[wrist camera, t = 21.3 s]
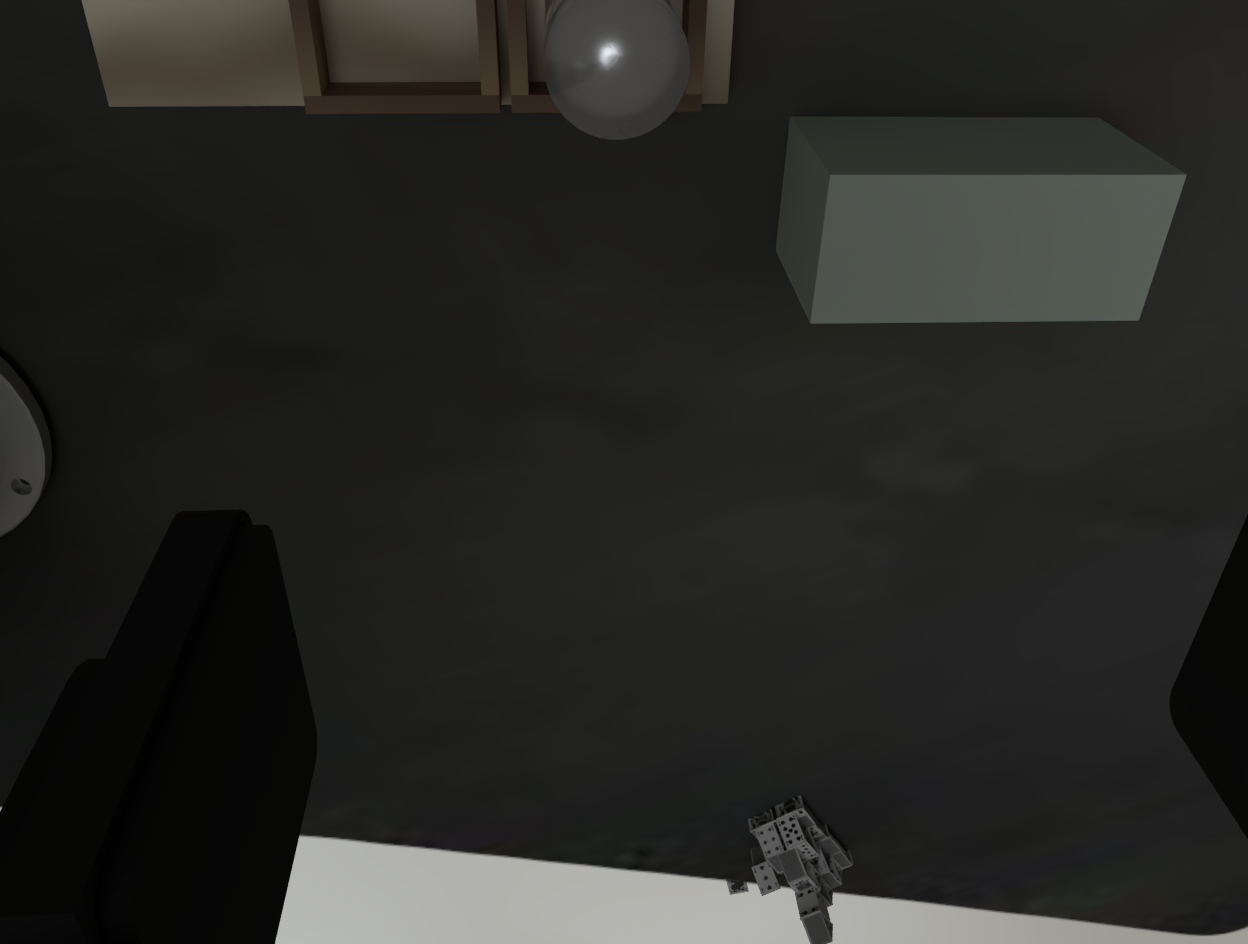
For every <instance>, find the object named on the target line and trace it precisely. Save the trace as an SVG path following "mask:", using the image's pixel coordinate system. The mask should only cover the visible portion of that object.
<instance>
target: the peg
mask: <svg viewBox="0 0 1248 944" xmlns="http://www.w3.org/2000/svg"><path fill="white" fill-rule="evenodd" d="M689 71H690V54H689V47H688V43H687V39H686V36H685V34H684V31H683V29H682V27H681V25H680V23H679V20H678V18H677V16H676V14H675V12H674V10H673V8H672V6H671V4H670V2H669V0H545V26H544V73H545V80H546V84H547V88H548V90H549V93H550V96H551V98H552V100H553V102H554V104H555V105H556V107H557V108H558V110H559V111H560V113H561V114H562V115H563V116H564V117H565V118H566V119H567V120H568V121H569V122H570V123H571V124H573V125H574V126H575V127H577V128H578V129H580V130H581V131H583V132H585V133H587V134H589V135H592V136H595V137H598V138H603V139H611V140H621V139H629V138H634V137H637V136H640V135H643V134H645V133H647V132H649V131H651V130H653V129H654V128H656V127H657V126H659V125H660V124H661V123H663V122H664V121H665V120H666V119H667V118H668V117H669V116H670V115H671V114H672V112H673V111H674V110H675V108H676V107H677V105H678V104H679V102H680V100H681V98H682V96H683V94H684V92H685V89H686V86H687V82H688V78H689Z"/></svg>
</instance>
